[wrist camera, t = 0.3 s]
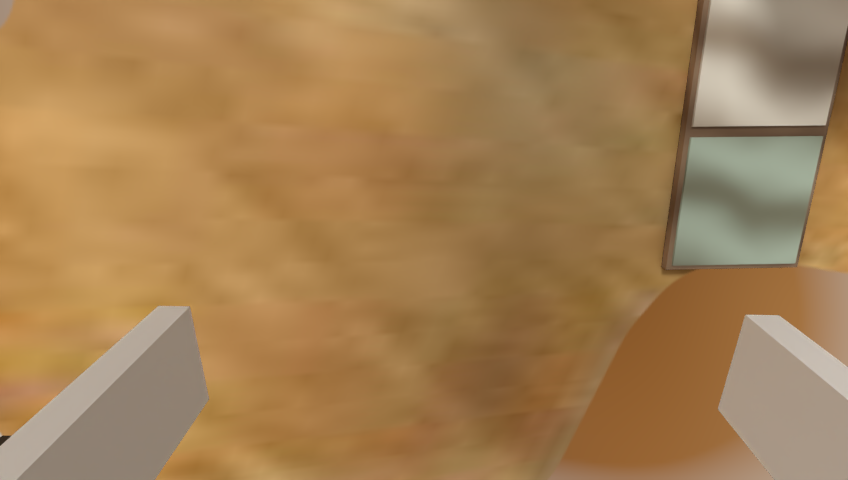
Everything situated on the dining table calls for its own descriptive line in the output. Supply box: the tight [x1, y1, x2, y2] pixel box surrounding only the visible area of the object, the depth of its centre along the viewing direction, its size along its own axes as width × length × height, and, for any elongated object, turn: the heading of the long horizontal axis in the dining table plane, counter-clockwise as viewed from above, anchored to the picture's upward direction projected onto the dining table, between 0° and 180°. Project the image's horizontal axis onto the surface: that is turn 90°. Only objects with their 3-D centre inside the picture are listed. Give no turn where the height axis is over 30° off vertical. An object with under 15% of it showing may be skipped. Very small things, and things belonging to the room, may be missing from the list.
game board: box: [662, 0, 848, 270], centre depth 35 cm, size 22×11×1 cm, turn 1°
